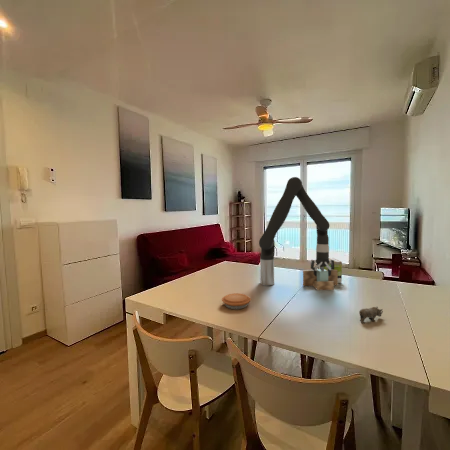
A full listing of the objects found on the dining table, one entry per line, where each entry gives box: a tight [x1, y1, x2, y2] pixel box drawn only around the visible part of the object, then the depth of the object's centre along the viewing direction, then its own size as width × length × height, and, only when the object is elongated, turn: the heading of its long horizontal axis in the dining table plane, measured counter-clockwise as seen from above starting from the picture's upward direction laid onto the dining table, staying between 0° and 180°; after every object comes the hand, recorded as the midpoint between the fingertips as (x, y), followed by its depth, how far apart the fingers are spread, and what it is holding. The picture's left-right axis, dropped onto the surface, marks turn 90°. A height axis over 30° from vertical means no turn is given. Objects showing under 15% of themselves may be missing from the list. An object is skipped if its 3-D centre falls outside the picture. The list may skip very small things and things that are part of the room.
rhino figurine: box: [359, 306, 384, 324], centre depth 114 cm, size 4×14×6 cm, turn 109°
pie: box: [221, 292, 252, 310], centre depth 135 cm, size 15×16×5 cm
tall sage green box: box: [317, 267, 328, 282], centre depth 161 cm, size 5×6×10 cm
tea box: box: [319, 257, 343, 284], centre depth 177 cm, size 15×10×15 cm, turn 179°
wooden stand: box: [302, 269, 339, 291], centre depth 162 cm, size 22×10×10 cm, turn 88°
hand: (322, 275), depth 162 cm, fingers open, 8 cm apart
